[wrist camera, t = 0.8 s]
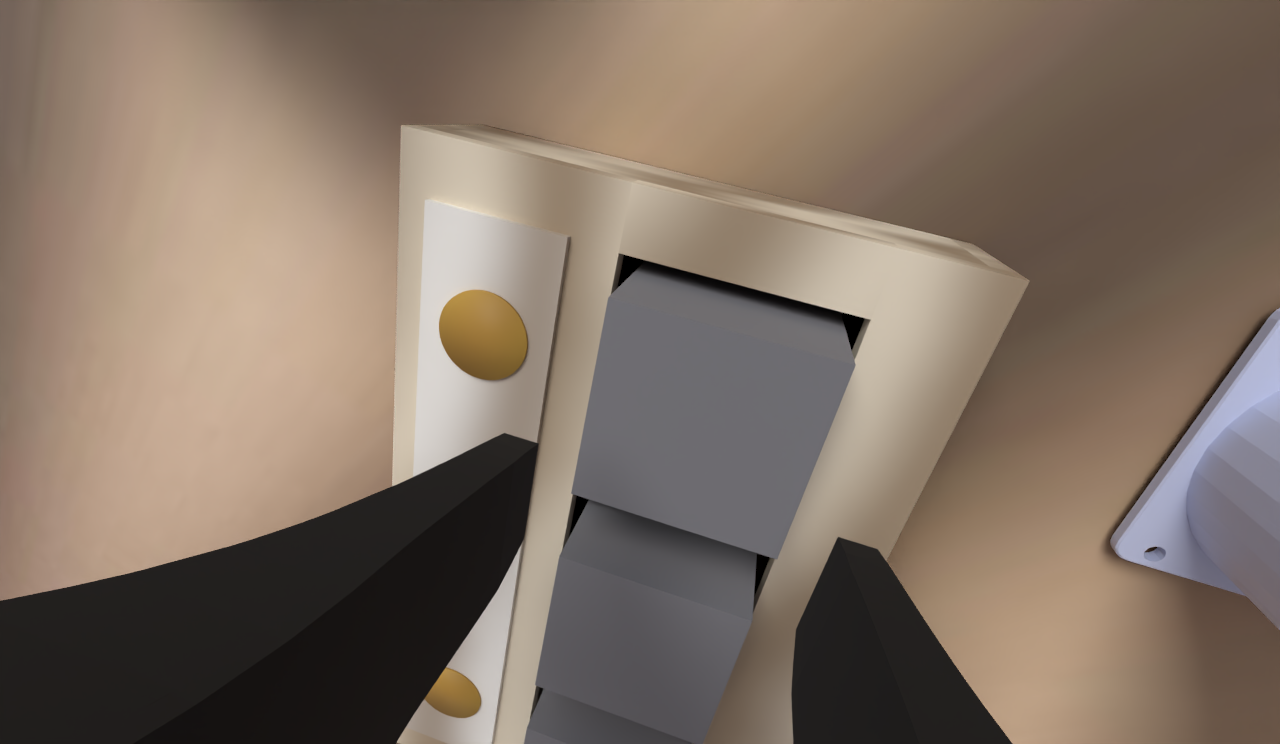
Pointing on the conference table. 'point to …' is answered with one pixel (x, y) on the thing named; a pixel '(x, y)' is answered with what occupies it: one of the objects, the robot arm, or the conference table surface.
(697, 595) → the button
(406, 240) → the button box
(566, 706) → the button
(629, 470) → the button
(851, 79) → the conference table surface
